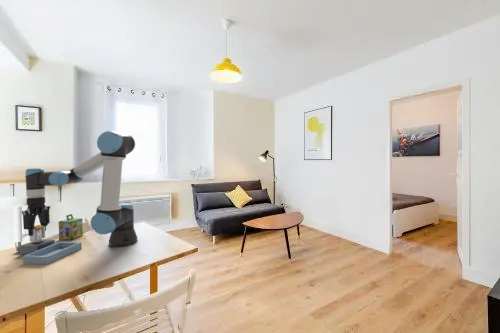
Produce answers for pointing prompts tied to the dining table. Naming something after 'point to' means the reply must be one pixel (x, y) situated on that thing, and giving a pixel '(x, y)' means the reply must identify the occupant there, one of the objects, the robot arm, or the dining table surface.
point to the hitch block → (34, 246)
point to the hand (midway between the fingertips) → (37, 239)
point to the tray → (52, 253)
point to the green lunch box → (70, 228)
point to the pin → (38, 234)
